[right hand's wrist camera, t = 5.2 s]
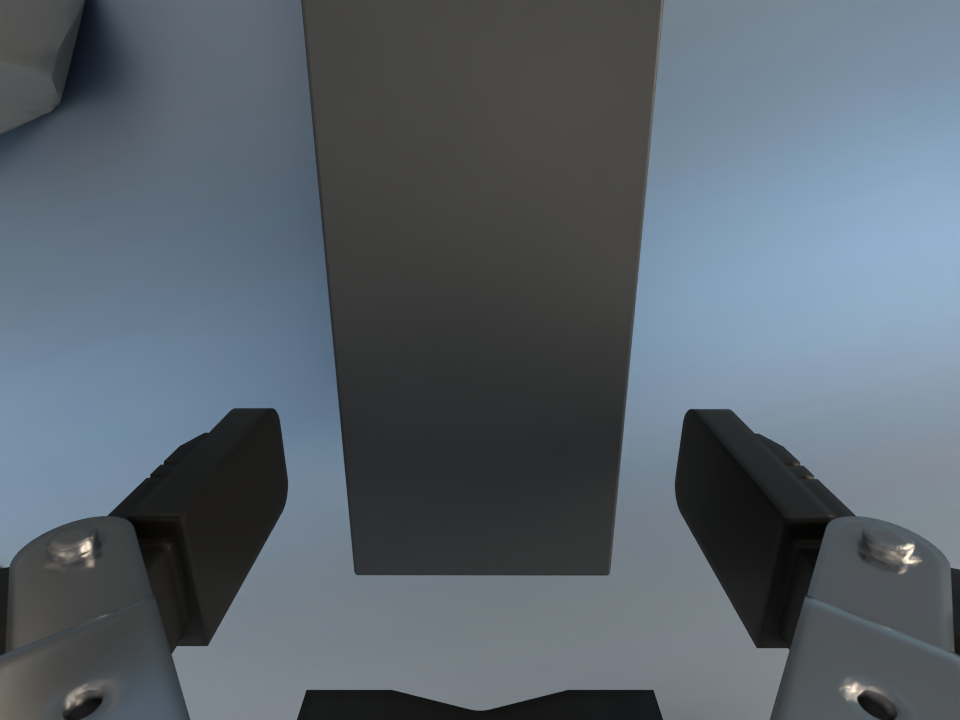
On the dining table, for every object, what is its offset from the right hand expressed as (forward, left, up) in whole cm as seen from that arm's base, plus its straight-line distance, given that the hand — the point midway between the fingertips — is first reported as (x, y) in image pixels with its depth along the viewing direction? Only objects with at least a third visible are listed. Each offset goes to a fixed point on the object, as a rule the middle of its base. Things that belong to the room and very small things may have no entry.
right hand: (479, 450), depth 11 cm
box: (+10, +3, -12) cm, 16 cm away
